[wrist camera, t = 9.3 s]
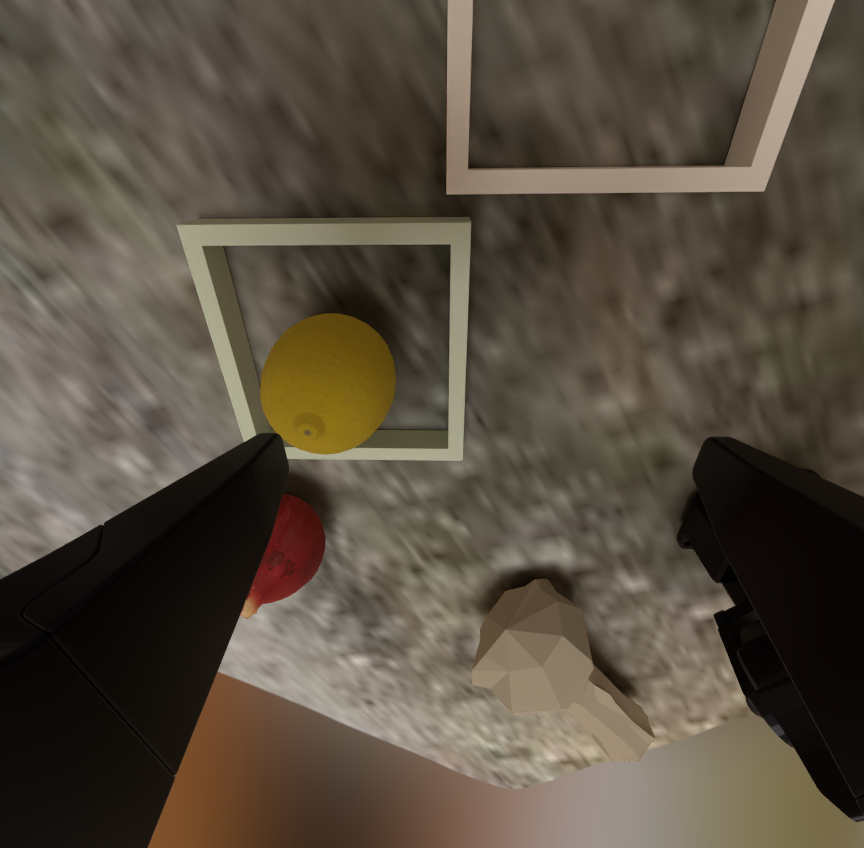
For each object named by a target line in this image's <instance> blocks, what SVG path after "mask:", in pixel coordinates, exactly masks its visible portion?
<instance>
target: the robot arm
mask: <svg viewBox="0 0 864 848" xmlns="http://www.w3.org/2000/svg"><path fill="white" fill-rule="evenodd" d="M288 472H289V464H288V459H287V455H286V451H285V447H284V443H283V440H282V437H281V435H279V434H278V433H259V434H257V435H255V436H254V437H252V438H250V439H249V440H247V441H245V442H243V443H242V444H240V445H238V446H236V447H235V448H233V449H231V450H229V451H228V452H226V453H224V454H222V455H221V456H219V457H217V458H216V459H214V460H212V461H210V462H209V463H207V464H205V465H203V466H202V467H200V468H198V469H196V470H195V471H193V472H191V473H189V474H188V475H186V476H184V477H182V478H181V479H179V480H177V481H176V482H174V483H172V484H170V485H169V486H167V487H165V488H163V489H162V490H160V491H158V492H156V493H155V494H153V495H151V496H149V497H148V498H146V499H144V500H142V501H141V502H139V503H137V504H136V505H134V506H132V507H130V508H129V509H127V510H125V511H123V512H122V513H120V514H118V515H116V516H115V517H113V518H111V519H109V520H108V521H106V522H105V523H104V526H103V525H99V526H97V527H95V528H94V529H92V530H90V531H88V532H87V533H85V534H83V535H82V536H80V537H78V538H76V539H74V540H73V541H71V542H69V543H67V544H65V545H64V546H62V547H60V548H58V549H57V550H55V551H53V552H51V553H49V554H48V555H46V556H44V557H42V558H40V559H38V560H36V561H34V562H32V563H30V564H29V565H27V566H25V567H23V568H21V569H19V570H17V571H15V572H13V573H11V574H9V575H8V576H6V577H4V578H2V579H0V848H148V845H149V843H150V840H151V838H152V835H153V833H154V830H155V828H156V825H157V823H158V820H159V818H160V815H161V813H162V810H163V808H164V805H165V803H166V800H167V798H168V795H169V793H170V790H171V788H172V785H173V783H174V780H175V776H174V775H176V774H177V772H178V769H179V767H180V764H181V762H182V759H183V757H184V754H185V752H186V749H187V747H188V744H189V742H190V739H191V737H192V734H193V732H194V729H195V727H196V724H197V722H198V719H199V717H200V714H201V712H202V709H203V706H204V704H205V702H206V699H207V696H208V694H209V691H210V689H211V686H212V684H213V681H214V679H215V676H216V674H217V671H218V669H219V666H220V664H221V661H222V659H223V656H224V654H225V651H226V649H227V646H228V644H229V641H230V639H231V636H232V634H233V631H234V629H235V626H236V624H237V621H238V619H239V616H240V614H241V611H242V609H243V606H244V604H245V601H246V599H247V596H248V594H249V591H250V589H251V586H252V584H253V581H254V579H255V576H256V574H257V571H258V569H259V566H260V564H261V561H262V559H263V556H264V553H265V551H266V548H267V546H268V543H269V541H270V538H271V535H272V532H273V529H274V525H275V522H276V518H277V514H278V511H279V507H280V503H281V499H282V495H283V492H284V488H285V484H286V480H287V477H288ZM692 472H693V479H694V482H695V484H696V487H697V489H698V494H697V496H696V498H695V501H694V503H693V505H692V507H691V509H690V512H689V514H688V516H687V518H686V521H685V523H684V525H683V527H682V530H681V532H680V534H679V537H678V539H677V542H678V544H679V545H680V547H681V548H683V549H694V551H695V552H696V554H697V555H698V557H699V559H700V560H701V562H702V563H703V565H704V567H705V568H706V570H707V572H708V573H709V575H710V576H711V578H712V579H713V580H714V581H715V582H716V583H722V585H723V587H724V588H725V590H726V591H727V593H728V594H729V596H730V598H731V599H732V601H733V602H734V604H735V606H734V607H732V608H730V609H728V610H726V611H723V610H721V611H719V612H717V613H715V614H714V618H715V620H716V623H717V625H718V628H719V629H718V631H719V634H720V636H721V639H722V641H723V644H724V646H725V649H726V651H727V654H728V656H729V659H730V662H731V664H732V667H733V669H734V672H735V674H736V677H737V679H738V682H739V684H740V687H741V689H742V692H743V694H744V695H745V698H746V702H747V705H748V707H749V708H750V710H751V711H752V712H753V713H754V714H755V715H758V716H760V717H762V718H764V720H765V721H766V722H767V724H768V725H769V726H770V727H771V728H772V730H773V731H774V732H775V733H776V734H777V735H778V736H779V737H780V738H781V739H782V740H783V741H784V742H785V743H787V744H788V745H790V746H791V747H794V748H795V750H796V752H797V753H798V755H799V757H800V759H801V760H802V762H803V764H804V765H805V767H806V769H807V771H808V772H809V774H810V776H811V778H812V779H813V781H814V783H815V784H816V786H817V788H818V789H819V791H820V792H821V793H822V794H823V795H824V796H825V797H826V798H827V799H829V800H830V801H831V802H832V803H833V804H834V805H835V806H837V807H838V808H839V809H840V810H841V811H842V812H843V813H845V814H846V815H847V816H848V817H849V818H851V819H852V820H854V821H856V822H860V821H864V497H863V496H860V495H858V494H856V493H854V492H851V491H849V490H847V489H845V488H843V487H840V486H838V485H836V484H834V483H831V482H829V481H827V480H825V479H823V478H821V477H820V476H819V475H818V474H817V473H816V472H814V471H805V470H803V469H800V468H798V467H796V466H794V465H792V464H789V463H787V462H785V461H783V460H780V459H778V458H776V457H774V456H772V455H769V454H767V453H765V452H763V451H760V450H758V449H756V448H754V447H752V446H749V445H747V444H745V443H743V442H740V441H738V440H736V439H734V438H731V437H709V438H707V439H706V440H705V441H704V443H703V445H702V447H701V450H700V452H699V454H698V457H697V459H696V462H695V464H694V466H693V471H692Z"/></svg>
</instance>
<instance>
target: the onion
mask: <svg viewBox="0 0 864 848" xmlns="http://www.w3.org/2000/svg"><path fill="white" fill-rule="evenodd" d="M325 539H326V537H325V534H324V530H323V527H322V523H321V519H320V517H319V516H318V515H317V514H316V512H315V511H314V510H313V508H312V507H311V506H310V505H309V504H308V503H306V502H305V501H303V500H302V499H300V498H298V497H294V496H291V495H287V494H283V495H282V499H281V503H280V507H279V511H278V514H277V518H276V522H275V525H274V529H273V532H272V535H271V538H270V541H269V543H268V546H267V548H266V551H265V553H264V556H263V559H262V561H261V564H260V566H259V569H258V571H257V574H256V576H255V579H254V581H253V584H252V586H251V589H250V591H249V594H248V596H247V599H246V601H245V604H244V606H243V609H242V611H241V616H243V617H244V618H246V619H248V618H249V617H250V616H251V615H253V614H255V613H256V612H257V610H258V608H259V607H260V606H261V605H262V604H266V603H272V602H275V601H278V600H281V599H284V598H286V597H288V596H290V595H292V594H294V593H295V592H296V591H298V590H299V589H300V588H301V587H303V586H304V585H305V584H306V583H307V582H309V581H310V580H311V579H312V577H313V576H314V575H315V573H316V572H317V571H318V568H319V566H320V564H321V561H322V558H323V554H324V550H325Z"/></svg>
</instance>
